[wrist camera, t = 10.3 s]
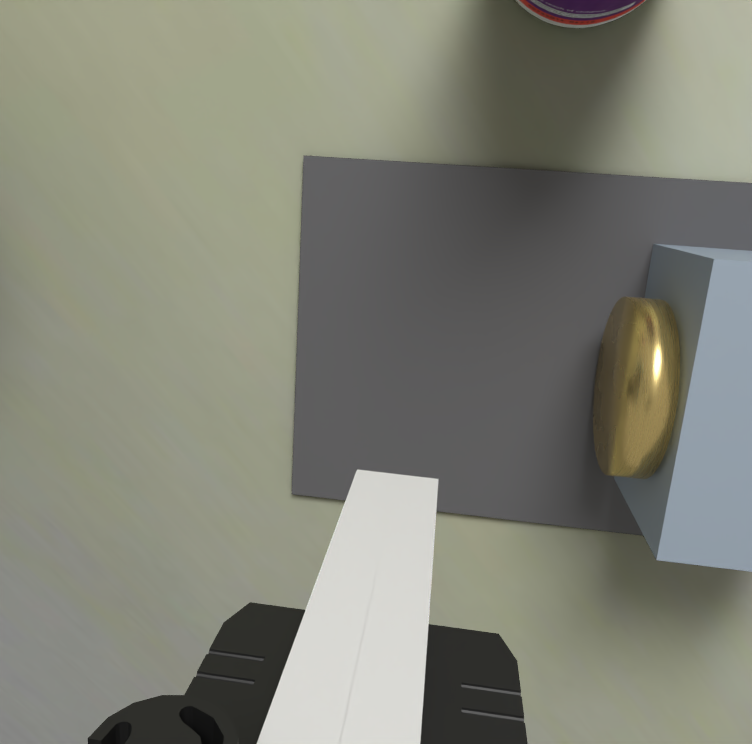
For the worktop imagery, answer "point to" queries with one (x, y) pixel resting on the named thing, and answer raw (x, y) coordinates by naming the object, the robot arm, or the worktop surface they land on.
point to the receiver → (703, 414)
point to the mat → (477, 325)
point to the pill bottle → (579, 11)
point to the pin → (636, 387)
